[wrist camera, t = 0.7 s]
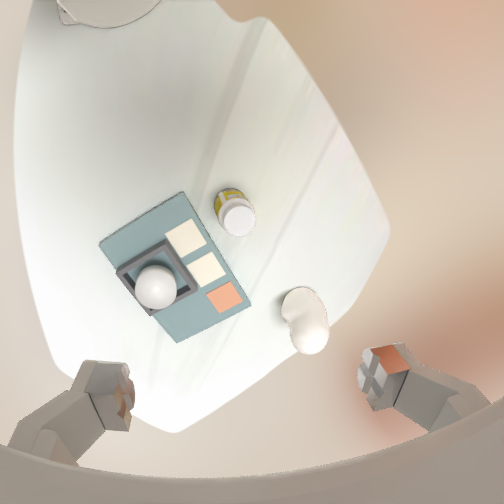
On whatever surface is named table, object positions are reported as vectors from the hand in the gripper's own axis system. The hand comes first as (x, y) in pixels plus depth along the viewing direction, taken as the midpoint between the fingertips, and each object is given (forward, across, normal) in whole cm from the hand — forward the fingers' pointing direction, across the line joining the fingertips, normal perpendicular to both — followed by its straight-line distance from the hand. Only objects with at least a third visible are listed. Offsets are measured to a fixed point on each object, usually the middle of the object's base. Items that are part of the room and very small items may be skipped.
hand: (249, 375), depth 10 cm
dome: (+35, +10, +12) cm, 38 cm away
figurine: (+40, -14, +20) cm, 46 cm away
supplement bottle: (+37, -2, +1) cm, 37 cm away
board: (+37, +7, +13) cm, 40 cm away
